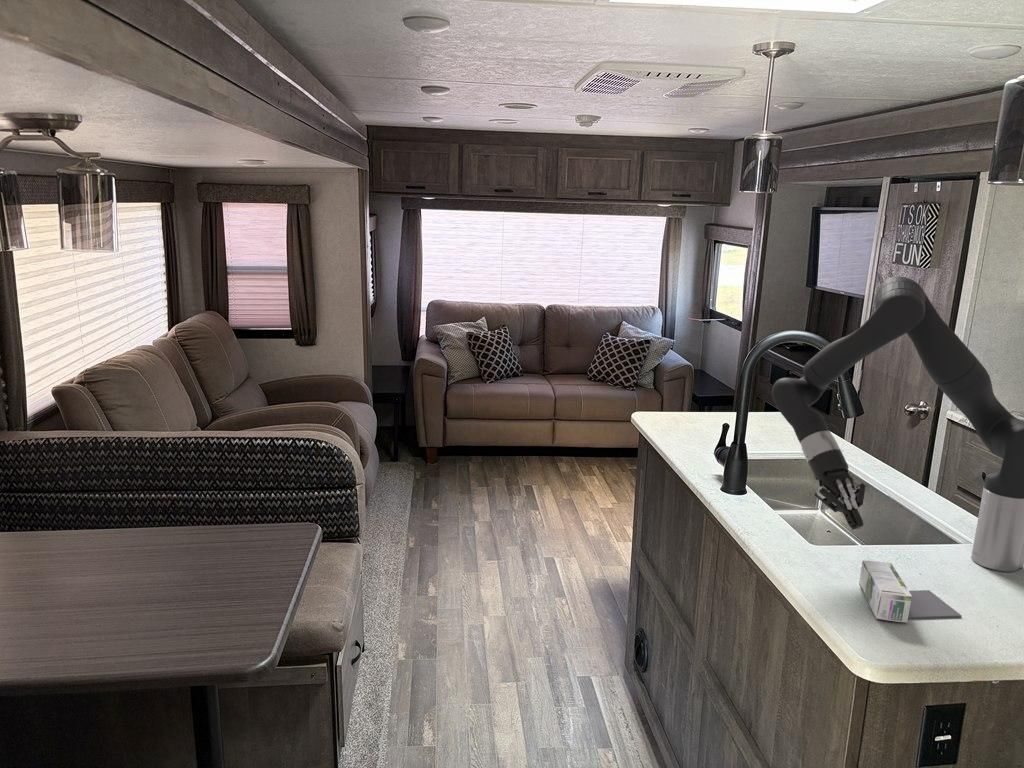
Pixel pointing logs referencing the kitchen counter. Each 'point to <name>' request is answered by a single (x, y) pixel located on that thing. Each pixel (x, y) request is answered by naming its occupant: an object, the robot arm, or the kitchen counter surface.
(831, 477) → the robot arm
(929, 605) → the mat
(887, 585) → the syrup box
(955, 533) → the kitchen counter surface
